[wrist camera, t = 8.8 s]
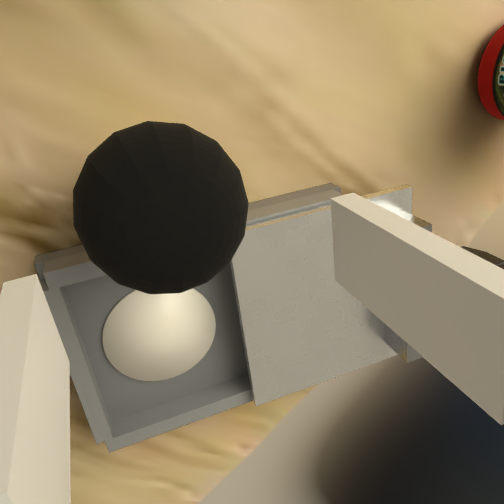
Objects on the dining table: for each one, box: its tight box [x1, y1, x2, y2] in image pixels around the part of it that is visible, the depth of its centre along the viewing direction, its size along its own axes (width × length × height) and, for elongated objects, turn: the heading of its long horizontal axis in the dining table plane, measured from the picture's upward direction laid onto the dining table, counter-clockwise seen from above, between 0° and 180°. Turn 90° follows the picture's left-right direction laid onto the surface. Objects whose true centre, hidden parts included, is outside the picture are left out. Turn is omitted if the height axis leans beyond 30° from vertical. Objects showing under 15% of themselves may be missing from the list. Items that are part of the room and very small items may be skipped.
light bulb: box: [73, 121, 249, 294], centre depth 21 cm, size 7×7×12 cm
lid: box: [230, 185, 432, 406], centre depth 29 cm, size 13×12×3 cm
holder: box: [35, 183, 343, 452], centre depth 30 cm, size 13×18×3 cm
